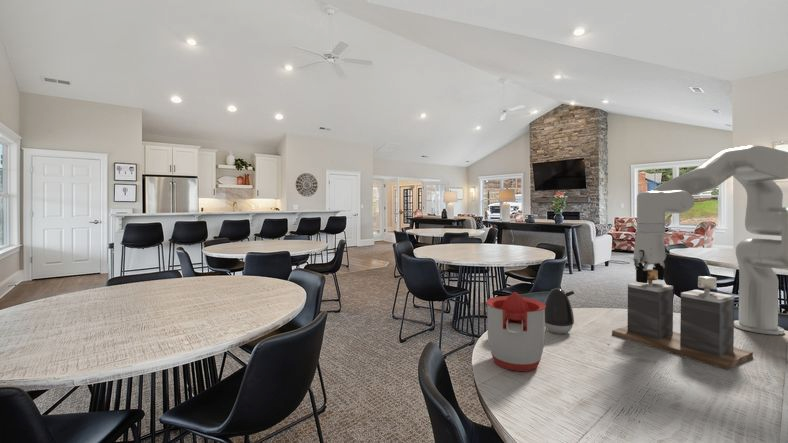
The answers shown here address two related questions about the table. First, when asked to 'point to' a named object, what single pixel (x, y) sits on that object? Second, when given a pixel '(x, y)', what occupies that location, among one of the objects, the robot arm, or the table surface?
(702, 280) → the ivory plunger
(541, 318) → the citrus juicer
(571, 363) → the table surface
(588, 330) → the table surface
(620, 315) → the table surface
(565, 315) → the pump dispenser
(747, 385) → the table surface
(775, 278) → the robot arm
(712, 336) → the press station
